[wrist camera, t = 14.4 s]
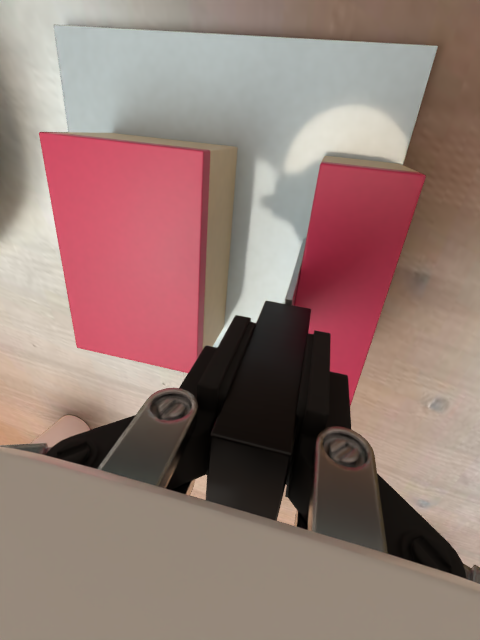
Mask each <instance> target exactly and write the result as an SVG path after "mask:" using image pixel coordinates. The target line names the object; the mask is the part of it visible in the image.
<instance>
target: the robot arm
mask: <svg viewBox="0 0 480 640" xmlns="http://www.w3.org/2000/svg"><path fill="white" fill-rule="evenodd" d="M255 326H256V323H253V322H251V318H249V317H244V316H238V315H235V317H234V318H233V320H232V322H231V324H230V326H229V327H228V329H227V331H226V333H225V335H224V337H223V338H222V340H221V342H220V344H219V346H218V347H212V346H208V345H207V346H205V347H204V349H203V350H202V352H201V353H200V355H199V357H198V358H197V360H196V362H195V363H194V365H193V366H192V368H191V370H190V371H189V373H188V375H187V376H186V378H185V379H184V381H183V383H182V384H181V386H180V388H166V389H163V390H159V391H157V392H156V393H154V394H152V395H151V396H150V397H149V398H148V399H147V400H146V402H145V403H144V405H143V406H142V407H141V409H140V410H139V411H138V413H137V414H136V415H135V416H132V417H129V418H126V419H123V420H119V421H116V422H113V423H110V424H107V425H104V426H101V427H98V428H95V429H92V430H89V431H86V432H83V433H80V434H77V435H74V436H71V437H68V438H66V439H64V440H61V441H60V442H58V443H57V444H55V445H54V446H53V447H48V445H47V443H38V444H19V445H0V640H480V568H479V567H478V566H476V565H474V566H473V567H472V568H470V567H468V566H466V565H465V564H463V563H462V561H461V559H460V558H459V556H458V554H457V552H456V551H455V550H454V549H453V548H452V546H451V545H450V544H449V543H448V542H447V541H446V540H445V539H444V538H443V537H442V536H441V535H440V534H439V533H438V532H437V531H436V530H435V529H434V528H433V527H432V526H431V525H430V524H429V523H428V522H427V521H426V520H425V519H424V518H423V517H422V516H421V515H419V514H418V513H417V512H416V511H415V510H414V509H413V508H412V507H411V506H410V505H409V504H408V503H407V502H406V501H405V500H404V499H403V498H402V497H401V496H400V495H399V494H398V493H397V492H396V491H395V490H394V489H393V488H392V487H391V486H390V485H389V484H388V483H387V482H386V481H385V480H384V479H382V478H381V477H380V476H379V475H378V474H377V470H376V463H375V455H374V452H373V449H372V447H371V446H370V444H369V443H368V441H367V440H366V439H365V438H363V437H362V436H361V435H360V434H358V433H357V432H355V431H353V430H351V418H350V400H349V382H348V376H347V375H345V374H340V373H335V372H330V344H331V333H326V332H321V331H316V330H314V334H310V333H307V339H306V346H305V353H304V361H303V368H302V375H301V382H300V389H299V397H298V404H297V411H296V415H297V424H296V432H295V439H294V447H293V455H292V459H291V463H290V467H289V472H288V476H287V480H286V485H287V488H286V495H285V497H288V498H289V499H290V501H291V502H292V503H293V505H294V506H295V508H296V509H297V512H296V515H295V526H292V525H289V524H286V523H282V522H279V521H275V520H272V519H268V518H265V517H262V516H258V515H255V514H251V513H248V512H244V511H241V510H238V509H234V508H231V507H227V506H224V505H220V504H217V503H213V502H210V501H207V500H203V499H200V498H196V497H193V496H190V494H191V492H192V489H193V487H194V483H195V479H197V478H199V477H201V476H203V475H205V474H206V475H207V473H208V456H209V440H210V432H211V430H212V428H213V425H214V423H215V420H216V418H217V416H218V413H219V411H220V408H221V406H222V404H223V401H224V399H225V398H226V397H227V394H228V392H229V389H230V387H231V385H232V382H233V380H234V377H235V375H236V372H237V370H238V368H239V365H240V363H241V360H242V358H243V355H244V353H245V351H246V348H247V346H248V343H249V341H250V338H251V336H252V334H253V331H254V329H255Z"/></svg>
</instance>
